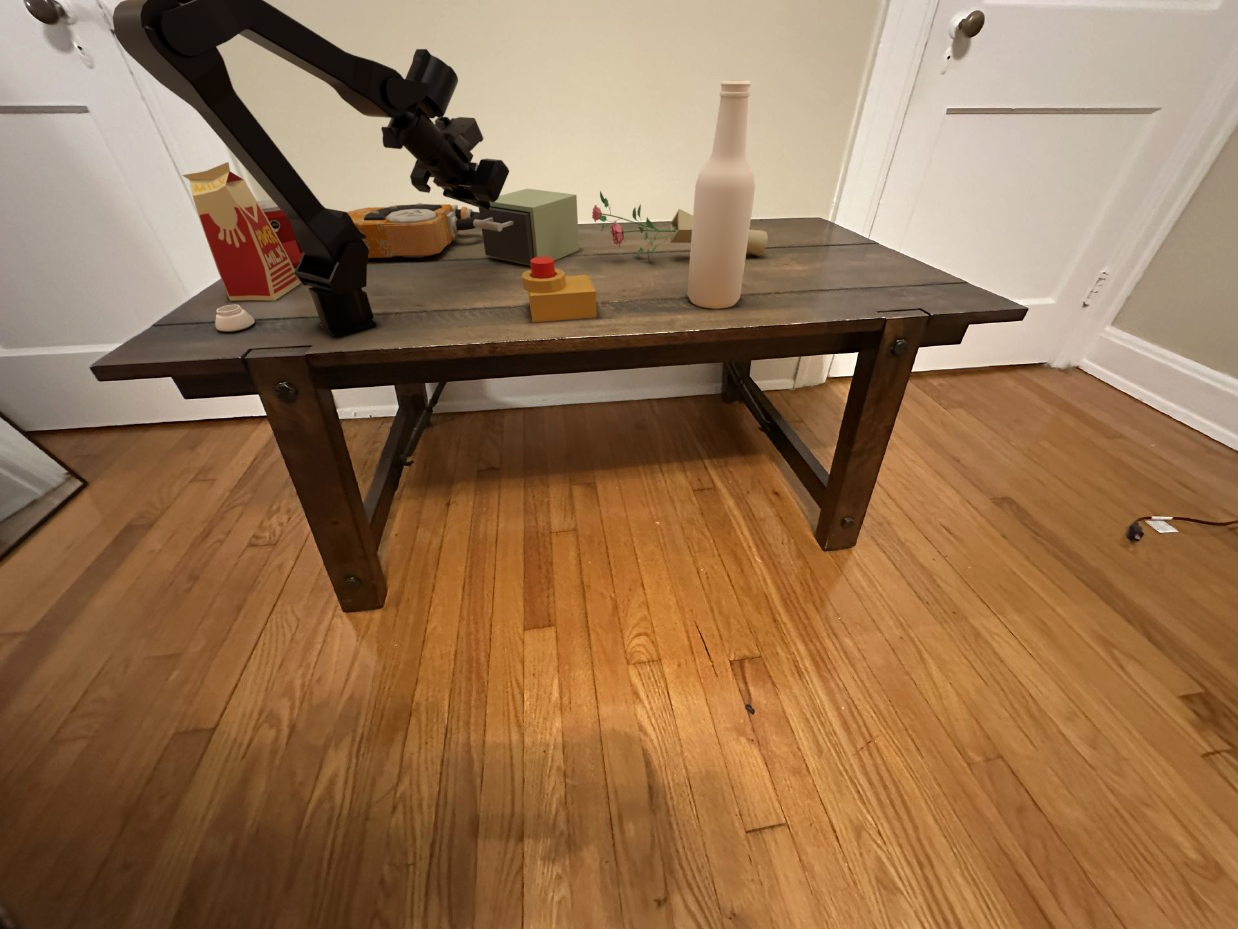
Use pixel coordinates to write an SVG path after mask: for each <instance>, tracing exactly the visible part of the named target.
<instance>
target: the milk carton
mask: <svg viewBox="0 0 1238 929" xmlns="http://www.w3.org/2000/svg"><path fill="white" fill-rule="evenodd" d="M229 162H230V161H227V162H224V163H222V164H219V165H217V166H215V167H212V168H209V169H207V170H204V171H203V170H202V171H198V172H191V173H187V174H182V175H181V176H182V177H184V178H185V179H188V181H189V185H190V191H191V196H192V199H193V202H194V205H195V209H196V212H197V215H198V218H199V221H200V224H201V228H202V231H203V233H204V236H205V239H206V241H207V244H208V247H209V250H210V253H211V256H212V258H213V261H214V264H215V266H216V269H217V272H218V275H219V277H220V280H221V282H222V284H223V288H224V290H225V292H226V295H227V297H228V299H229V301H231V302H232V301H268V302H269V301H272V302H274V301H276V300H278V299H280V298H281V297H283V296H284V295H286V294H287V293H289V292H290V291H292V290H293V289H295V288H296V287H298V286H299V285H300V284H302V283H301V282H300V281H299V279H298V278H297V277H296V275H295V274H294V272H295V270H296V268H294V267H293V265H292V263H291V261H290V259H289V257H288V255H287V253H286V251H285V250H284V248H283V246H282V244H281V242H280V240H279V239H278V237H277V235H276V233H275V231H274V230H273V228H272V226H271V224H270V222H269V221H268V219H267V217H266V215H265V214H264V212H263V210H262V209H261V207H260V206H259V204H258V200H257V199H256V198H255V196H254V194H253V192H252V191H251V189H250V188H249V186H248V184H247V183H246V181H245V179H244V178H243V177H240V176H239V175H237V174H236V173H234V172H232V171H231V168H230V163H229Z"/></svg>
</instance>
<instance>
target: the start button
mask: <svg viewBox="0 0 1238 929" xmlns="http://www.w3.org/2000/svg"><path fill="white" fill-rule="evenodd" d="M530 263H531V266H530V270H531V273H532V277H533V278H538V279H545V278H551V277H554V276H555V261H554V259H553V258H551V257H536V258H533V259H531V260H530Z"/></svg>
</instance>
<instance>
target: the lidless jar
mask: <svg viewBox="0 0 1238 929" xmlns="http://www.w3.org/2000/svg"><path fill="white" fill-rule="evenodd" d="M254 323H255V319H254V317H253V316H252V315H251V314H250V313H249V312H248V311H247V310H246V309H243V308H242V306H241V305H239V304H228V305H223V306H219V307H218V308H217V309H216V315H215V321H214V327H215V328H216V330H217V331H221V332H238V331H243V330H246V329H248V328H249V327H251V326H252V325H253V324H254Z"/></svg>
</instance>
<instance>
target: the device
mask: <svg viewBox="0 0 1238 929" xmlns="http://www.w3.org/2000/svg"><path fill="white" fill-rule="evenodd" d="M346 212H347V213H348V214H349V216H350V217H351V218H352V220H353V222H354V224H355V226H356V227H357V229H358V230H359V231H360V232H361V233H362V234H364V235H365V236H366V238H364V239H363V240H364V241H365V243H366V245H367V247H368V249H369V254H368V259H372V258H373V259H374V258H375V259H376V258H393V257H403V258H426V257H431V256H435V255H438V254H440V253H441V252H442V251H443V250H444V249H445V248H446V246H448V245H450V244H451V242H452V241H453V240H454V238H455V237H456V236H457V234H458V233H459V231H468V230H473V229H477V228H476V227H474V225H473V222H474V220H475V219H478V220H480V214H479V211H474V210H473V209H472V208H468V207H467V206H462V207H461V208H459V205H458V204H450V203H448V204H447V203H445V204H442V203H441V204H438V203H437V204H434V203H432V204H431V203H422V202H420V203H416V204H395V205H390V206H387V207H386V206H382V207H379V206H378V207H377V206H375V207H374V206H373V207H364V208H358V209H354V210H348V211H346Z"/></svg>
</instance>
